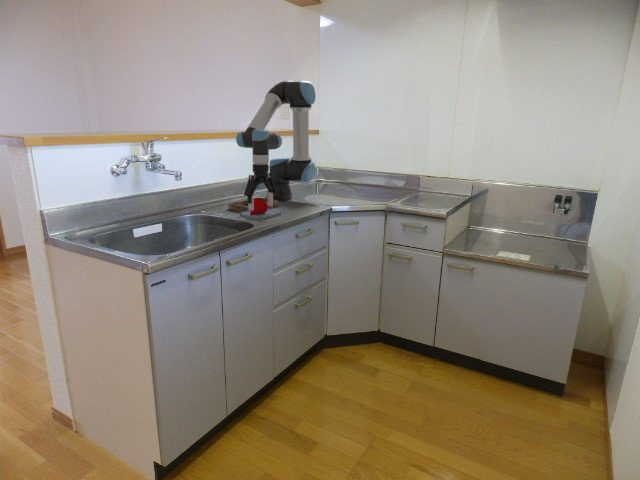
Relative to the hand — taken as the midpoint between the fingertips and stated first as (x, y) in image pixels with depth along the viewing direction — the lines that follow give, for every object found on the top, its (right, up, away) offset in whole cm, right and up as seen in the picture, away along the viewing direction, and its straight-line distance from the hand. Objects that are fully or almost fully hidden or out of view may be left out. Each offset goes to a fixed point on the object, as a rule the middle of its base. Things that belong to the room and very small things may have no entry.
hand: (260, 207), depth 203 cm
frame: (-6, +1, +17) cm, 18 cm away
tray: (0, -4, +1) cm, 4 cm away
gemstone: (-1, -3, -2) cm, 4 cm away
